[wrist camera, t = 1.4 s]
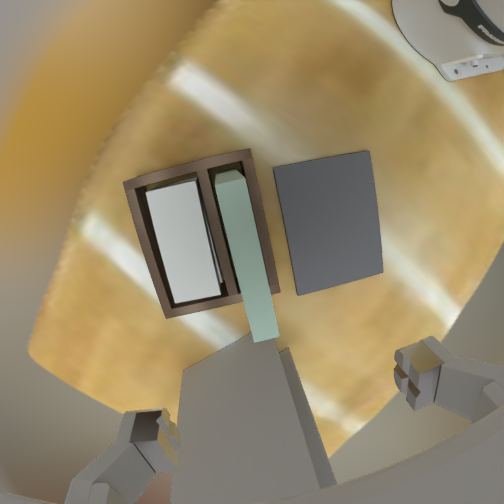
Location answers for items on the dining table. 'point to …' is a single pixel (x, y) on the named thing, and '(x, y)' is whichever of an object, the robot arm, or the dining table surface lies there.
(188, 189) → the offcut upper
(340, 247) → the mat
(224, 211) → the block
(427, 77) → the dining table surface
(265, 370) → the brochure
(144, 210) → the rack
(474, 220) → the dining table surface
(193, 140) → the dining table surface
